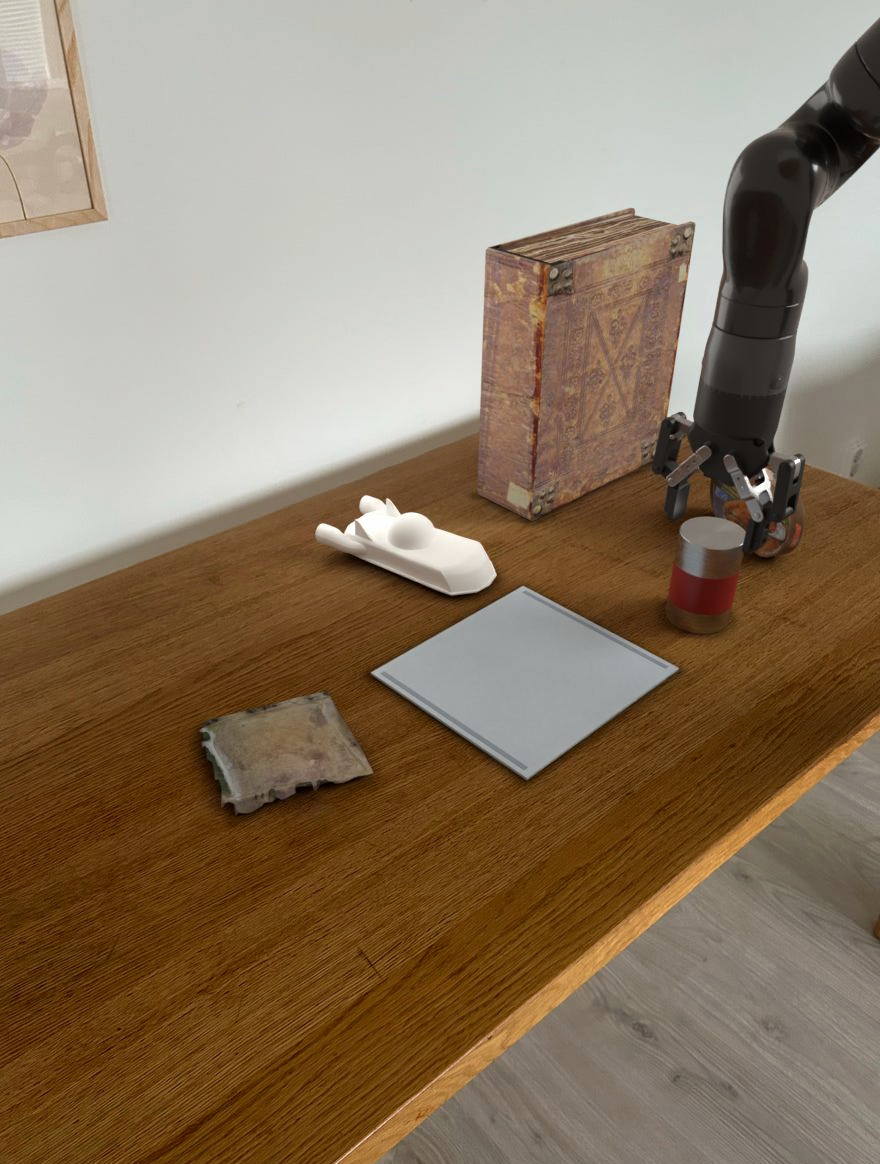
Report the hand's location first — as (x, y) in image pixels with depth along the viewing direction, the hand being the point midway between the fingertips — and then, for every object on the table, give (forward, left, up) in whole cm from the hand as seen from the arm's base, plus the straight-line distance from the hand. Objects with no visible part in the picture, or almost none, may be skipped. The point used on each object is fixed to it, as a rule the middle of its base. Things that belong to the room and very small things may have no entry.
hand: (711, 533), depth 99 cm
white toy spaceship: (+28, +14, -10) cm, 33 cm away
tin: (+5, -18, -10) cm, 21 cm away
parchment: (+13, +44, -10) cm, 47 cm away
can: (0, 0, -10) cm, 10 cm away
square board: (+6, +20, -10) cm, 23 cm away
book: (+29, -15, -10) cm, 34 cm away
